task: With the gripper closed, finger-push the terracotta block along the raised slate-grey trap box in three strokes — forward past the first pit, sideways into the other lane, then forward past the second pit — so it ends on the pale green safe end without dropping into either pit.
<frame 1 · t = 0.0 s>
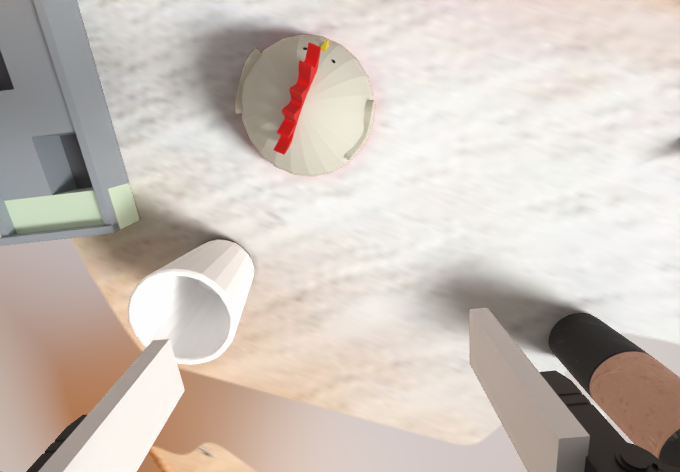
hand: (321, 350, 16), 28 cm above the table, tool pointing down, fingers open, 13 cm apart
travel mug: (574, 335, 48), on the table
cup: (225, 265, 45), on the table
trap box: (46, 92, 39), on the table
kitchen timer: (310, 110, 40), on the table
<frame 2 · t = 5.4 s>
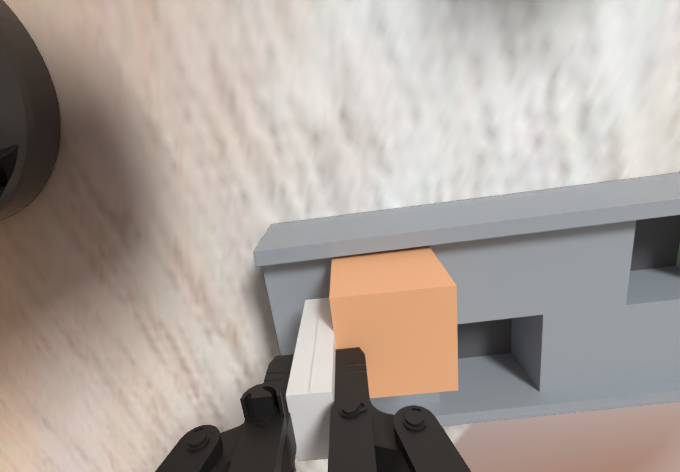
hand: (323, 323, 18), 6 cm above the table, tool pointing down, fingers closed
block: (383, 291, 20), point 4 cm above the table, touching gripper
trap box: (510, 283, 24), on the table
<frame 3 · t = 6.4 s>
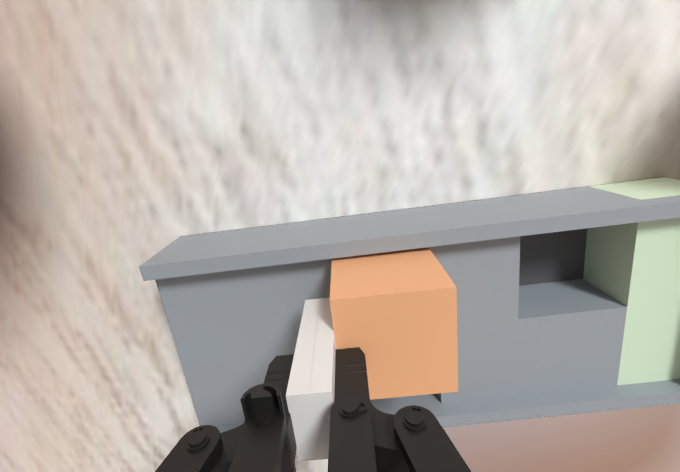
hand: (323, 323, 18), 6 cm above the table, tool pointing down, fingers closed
block: (382, 293, 20), point 4 cm above the table, touching gripper
trap box: (422, 295, 24), on the table
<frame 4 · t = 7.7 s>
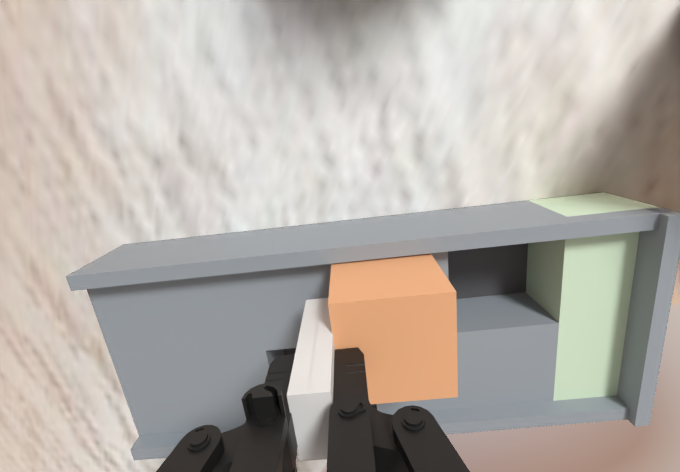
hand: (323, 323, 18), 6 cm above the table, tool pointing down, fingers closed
block: (382, 296, 20), point 4 cm above the table, touching gripper, trap box
trap box: (365, 306, 24), on the table
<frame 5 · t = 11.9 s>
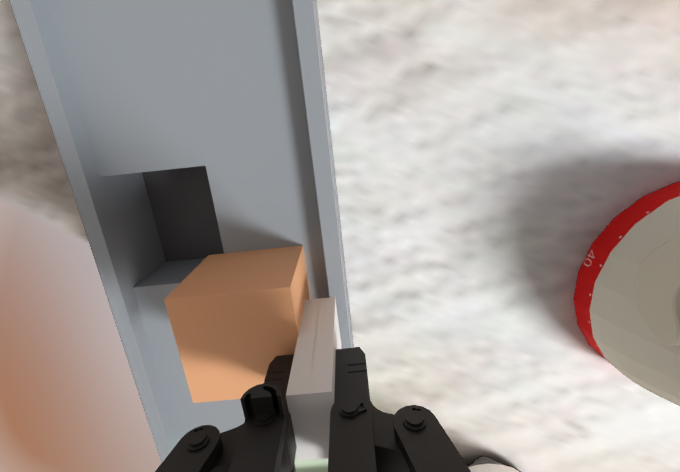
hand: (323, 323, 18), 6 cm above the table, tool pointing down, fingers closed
block: (263, 293, 20), point 4 cm above the table, touching gripper
trap box: (248, 252, 23), on the table
kitchen timer: (678, 280, 24), on the table
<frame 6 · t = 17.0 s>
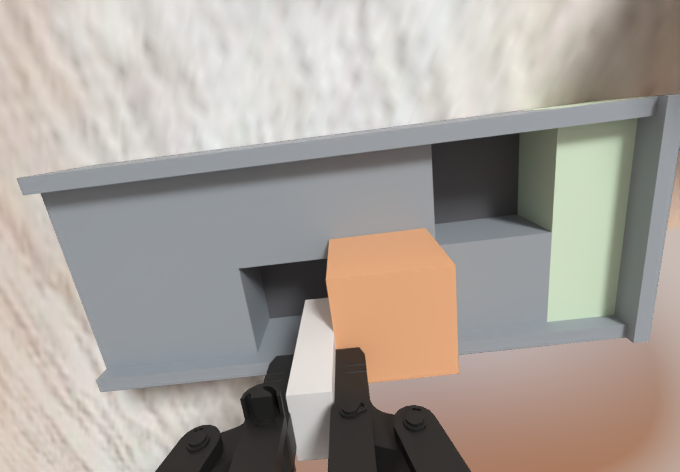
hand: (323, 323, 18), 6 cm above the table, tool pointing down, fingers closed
block: (381, 277, 19), point 4 cm above the table, touching gripper
trap box: (348, 233, 23), on the table
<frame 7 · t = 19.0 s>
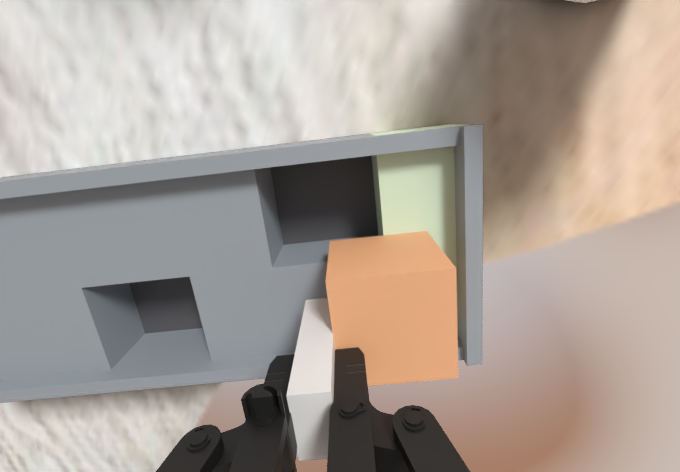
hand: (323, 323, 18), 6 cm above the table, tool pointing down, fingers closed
block: (381, 280, 19), point 4 cm above the table, touching gripper, trap box
trap box: (214, 251, 23), on the table
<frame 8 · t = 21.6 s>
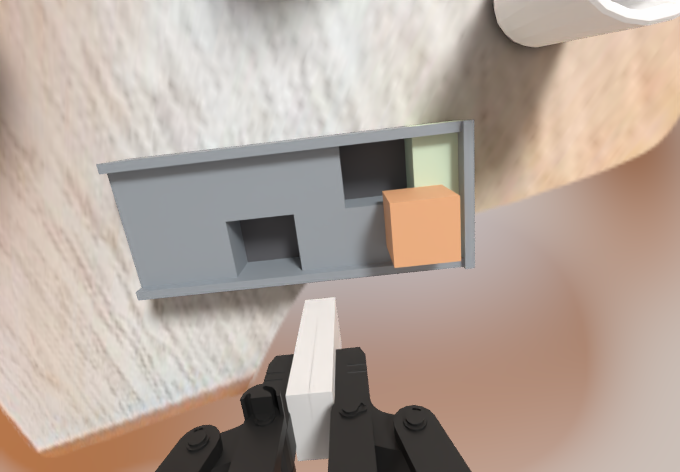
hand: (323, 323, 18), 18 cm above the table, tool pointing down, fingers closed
block: (413, 216, 31), point 4 cm above the table, touching trap box
trap box: (298, 204, 35), on the table
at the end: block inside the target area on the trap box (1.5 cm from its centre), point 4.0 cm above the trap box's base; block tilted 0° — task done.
